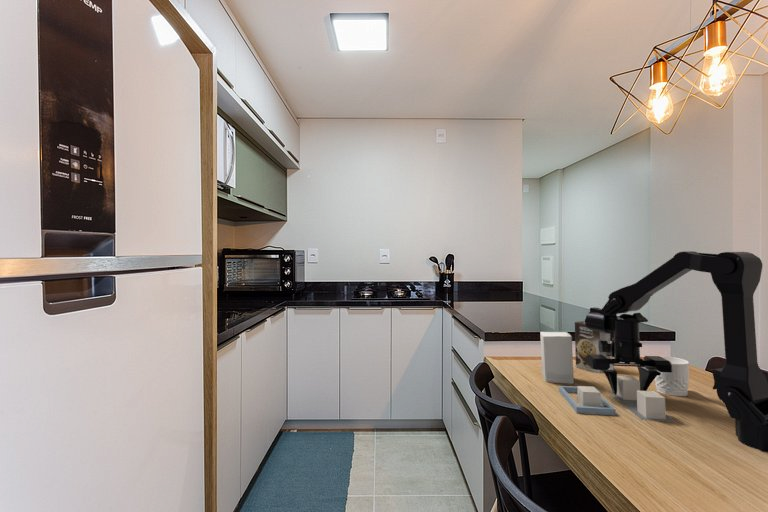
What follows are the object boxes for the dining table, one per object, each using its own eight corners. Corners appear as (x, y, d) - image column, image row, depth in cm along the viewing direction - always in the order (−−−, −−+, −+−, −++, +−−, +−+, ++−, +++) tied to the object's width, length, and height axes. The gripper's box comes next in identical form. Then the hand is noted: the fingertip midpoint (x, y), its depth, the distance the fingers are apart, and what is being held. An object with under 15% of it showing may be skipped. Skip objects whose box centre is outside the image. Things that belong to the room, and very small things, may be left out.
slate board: (676, 427, 79) (675, 421, 79) (641, 424, 80) (641, 419, 80) (637, 397, 96) (636, 393, 96) (609, 396, 97) (608, 392, 97)
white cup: (697, 402, 92) (696, 364, 92) (663, 400, 94) (662, 363, 94) (678, 391, 100) (677, 356, 100) (647, 389, 101) (646, 355, 102)
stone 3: (665, 419, 80) (665, 397, 80) (646, 418, 81) (645, 396, 81) (655, 411, 84) (655, 391, 84) (637, 410, 85) (636, 390, 85)
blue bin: (615, 420, 83) (615, 409, 83) (576, 417, 85) (576, 407, 85) (591, 396, 97) (591, 387, 97) (558, 394, 99) (558, 385, 99)
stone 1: (601, 412, 86) (600, 392, 86) (583, 411, 87) (582, 391, 87) (594, 406, 90) (594, 386, 90) (577, 405, 91) (577, 386, 91)
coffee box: (574, 367, 123) (573, 322, 124) (586, 364, 126) (585, 320, 126) (600, 374, 115) (598, 326, 115) (612, 371, 118) (610, 324, 118)
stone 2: (640, 400, 91) (639, 381, 91) (623, 399, 92) (622, 380, 92) (632, 394, 95) (632, 376, 95) (616, 393, 96) (615, 375, 96)
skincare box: (569, 380, 110) (568, 331, 110) (575, 388, 104) (573, 336, 104) (541, 378, 112) (539, 330, 113) (544, 386, 106) (543, 335, 106)
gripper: (648, 331, 100) (650, 385, 100) (578, 330, 103) (579, 382, 103) (672, 340, 89) (674, 401, 89) (593, 338, 93) (594, 397, 92)
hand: (628, 394), depth 94 cm, fingers open, 6 cm apart
